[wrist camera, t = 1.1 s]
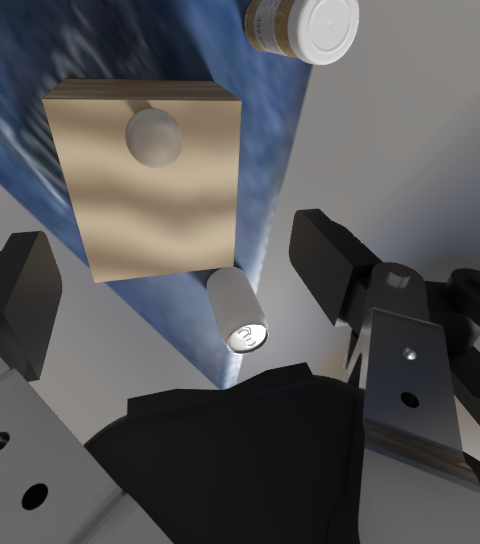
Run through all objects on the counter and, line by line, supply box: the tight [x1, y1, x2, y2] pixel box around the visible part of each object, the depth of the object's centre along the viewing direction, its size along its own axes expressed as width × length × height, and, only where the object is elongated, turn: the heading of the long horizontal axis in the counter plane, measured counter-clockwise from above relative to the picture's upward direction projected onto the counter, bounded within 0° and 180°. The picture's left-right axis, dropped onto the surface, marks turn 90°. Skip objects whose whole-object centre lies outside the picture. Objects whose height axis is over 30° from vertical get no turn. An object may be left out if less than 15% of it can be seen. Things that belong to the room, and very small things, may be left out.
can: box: [207, 267, 269, 355], centre depth 45 cm, size 6×6×12 cm
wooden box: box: [44, 78, 239, 100], centre depth 33 cm, size 16×14×10 cm
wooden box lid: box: [42, 98, 242, 283], centre depth 26 cm, size 16×14×7 cm
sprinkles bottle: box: [244, 0, 359, 65], centre depth 26 cm, size 5×5×13 cm
